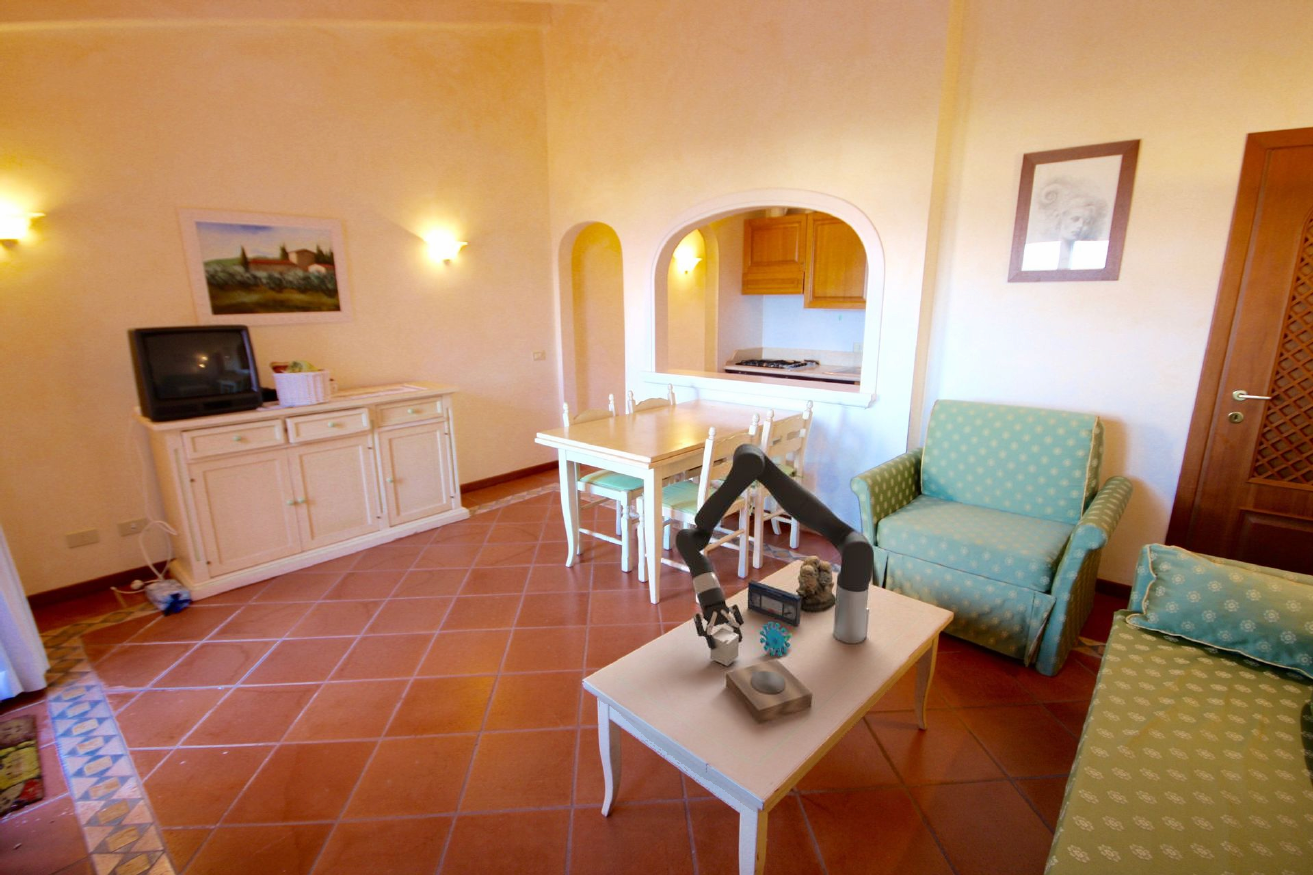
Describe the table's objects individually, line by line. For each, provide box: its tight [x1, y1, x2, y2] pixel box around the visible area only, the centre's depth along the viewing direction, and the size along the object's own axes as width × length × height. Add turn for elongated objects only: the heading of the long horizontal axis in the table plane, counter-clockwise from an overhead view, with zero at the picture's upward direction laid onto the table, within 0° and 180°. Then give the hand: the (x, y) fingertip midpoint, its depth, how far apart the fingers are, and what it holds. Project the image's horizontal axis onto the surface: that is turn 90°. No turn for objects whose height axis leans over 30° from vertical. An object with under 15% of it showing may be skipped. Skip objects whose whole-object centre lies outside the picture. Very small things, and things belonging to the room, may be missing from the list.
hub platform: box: [725, 658, 813, 725], centre depth 154 cm, size 16×16×4 cm
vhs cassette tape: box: [747, 579, 802, 628], centre depth 192 cm, size 18×3×10 cm, turn 49°
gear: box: [759, 621, 793, 657], centre depth 175 cm, size 11×6×10 cm
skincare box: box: [709, 627, 740, 667], centre depth 168 cm, size 6×6×7 cm
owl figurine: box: [795, 555, 836, 613], centre depth 200 cm, size 18×12×17 cm, turn 130°
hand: (727, 645), depth 167 cm, fingers closed on skincare box, 8 cm apart
